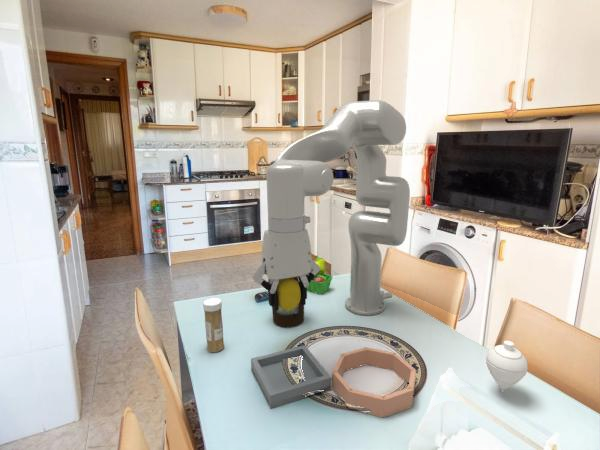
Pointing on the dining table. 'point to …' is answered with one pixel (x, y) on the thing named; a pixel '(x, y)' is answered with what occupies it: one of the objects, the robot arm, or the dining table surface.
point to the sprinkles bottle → (213, 324)
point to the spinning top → (506, 365)
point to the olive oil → (289, 315)
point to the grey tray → (278, 384)
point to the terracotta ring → (374, 402)
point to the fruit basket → (320, 279)
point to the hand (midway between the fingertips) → (288, 304)
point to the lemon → (288, 293)
